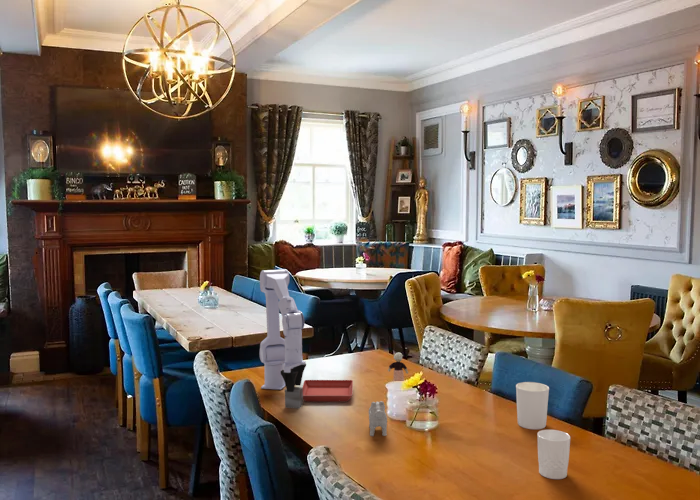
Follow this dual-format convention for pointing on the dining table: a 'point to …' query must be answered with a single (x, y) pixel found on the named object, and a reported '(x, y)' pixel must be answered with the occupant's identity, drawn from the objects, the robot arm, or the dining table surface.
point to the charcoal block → (294, 398)
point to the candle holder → (532, 404)
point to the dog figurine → (377, 417)
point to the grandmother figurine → (398, 367)
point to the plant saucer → (327, 390)
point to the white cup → (553, 453)
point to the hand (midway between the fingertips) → (293, 388)
